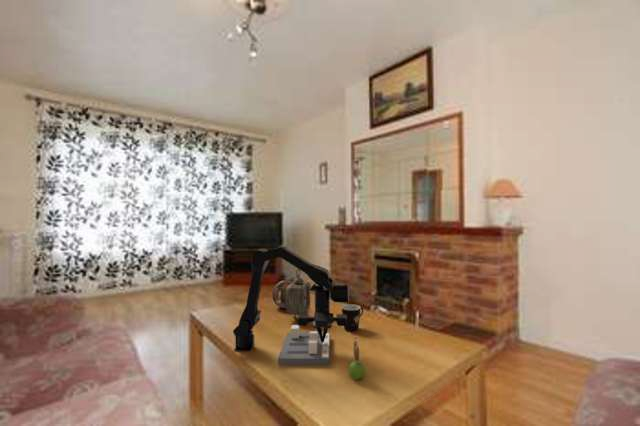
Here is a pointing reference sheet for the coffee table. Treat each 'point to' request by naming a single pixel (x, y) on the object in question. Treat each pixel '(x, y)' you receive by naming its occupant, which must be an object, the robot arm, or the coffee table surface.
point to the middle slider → (313, 335)
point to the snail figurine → (356, 364)
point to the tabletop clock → (298, 297)
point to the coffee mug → (352, 317)
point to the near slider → (312, 345)
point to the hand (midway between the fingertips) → (322, 342)
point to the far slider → (295, 331)
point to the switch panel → (304, 351)
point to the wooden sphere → (280, 293)
